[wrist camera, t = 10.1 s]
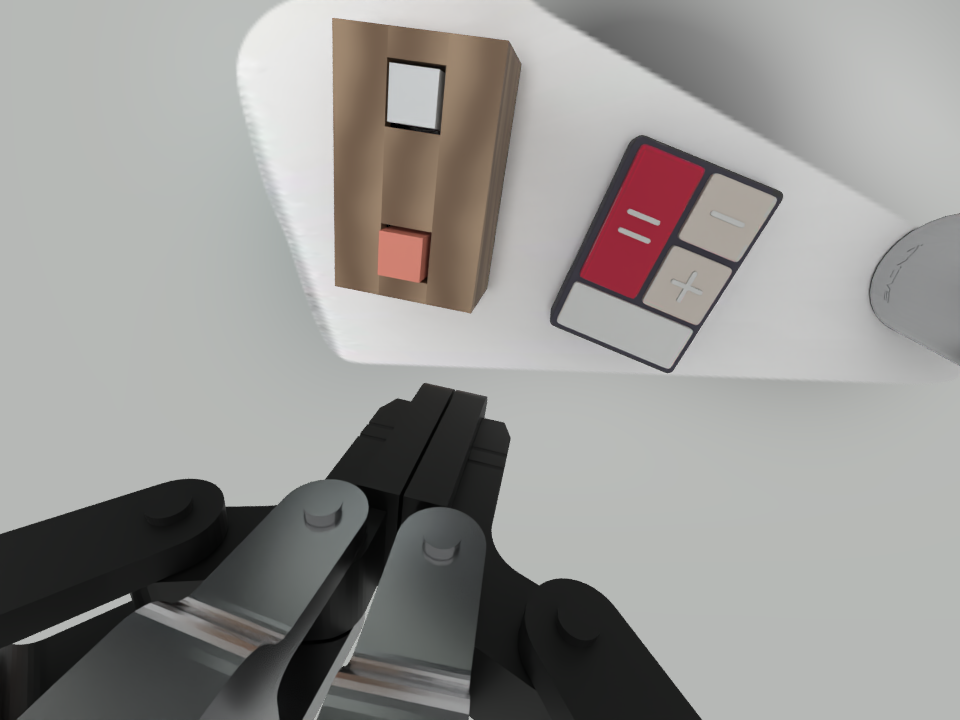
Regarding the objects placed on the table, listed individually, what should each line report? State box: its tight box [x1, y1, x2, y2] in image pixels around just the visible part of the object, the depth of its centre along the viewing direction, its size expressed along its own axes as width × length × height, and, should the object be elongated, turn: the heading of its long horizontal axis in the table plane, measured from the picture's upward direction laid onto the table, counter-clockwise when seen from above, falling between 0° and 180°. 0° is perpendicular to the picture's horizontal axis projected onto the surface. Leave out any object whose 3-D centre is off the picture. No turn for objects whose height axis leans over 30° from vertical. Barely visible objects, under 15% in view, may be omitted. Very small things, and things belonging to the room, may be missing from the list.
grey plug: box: [387, 62, 446, 131], centre depth 30 cm, size 3×3×7 cm
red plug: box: [378, 225, 432, 283], centre depth 34 cm, size 3×3×7 cm
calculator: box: [550, 135, 783, 373], centre depth 34 cm, size 11×4×15 cm
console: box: [332, 18, 521, 313], centre depth 33 cm, size 11×17×7 cm, turn 172°
